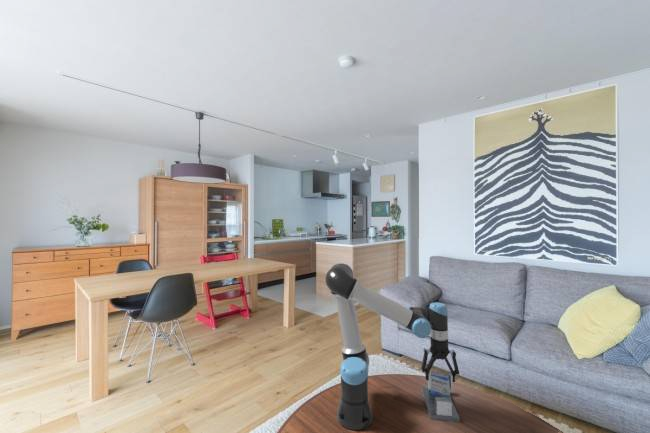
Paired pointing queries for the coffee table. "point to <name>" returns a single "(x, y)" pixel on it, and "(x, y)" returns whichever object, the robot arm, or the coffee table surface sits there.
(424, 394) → the base
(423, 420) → the coffee table surface
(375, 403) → the coffee table surface
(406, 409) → the coffee table surface
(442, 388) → the medicine box
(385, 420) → the coffee table surface
